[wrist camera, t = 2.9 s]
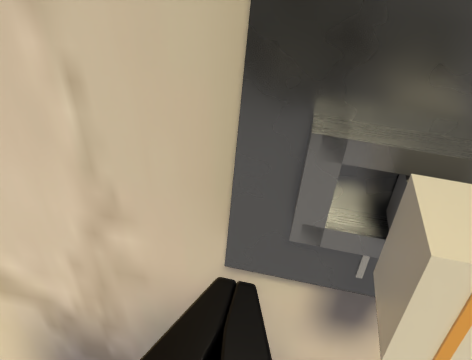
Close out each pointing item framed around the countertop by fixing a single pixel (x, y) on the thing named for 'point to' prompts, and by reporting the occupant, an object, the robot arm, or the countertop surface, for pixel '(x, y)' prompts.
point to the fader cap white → (426, 272)
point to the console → (344, 129)
